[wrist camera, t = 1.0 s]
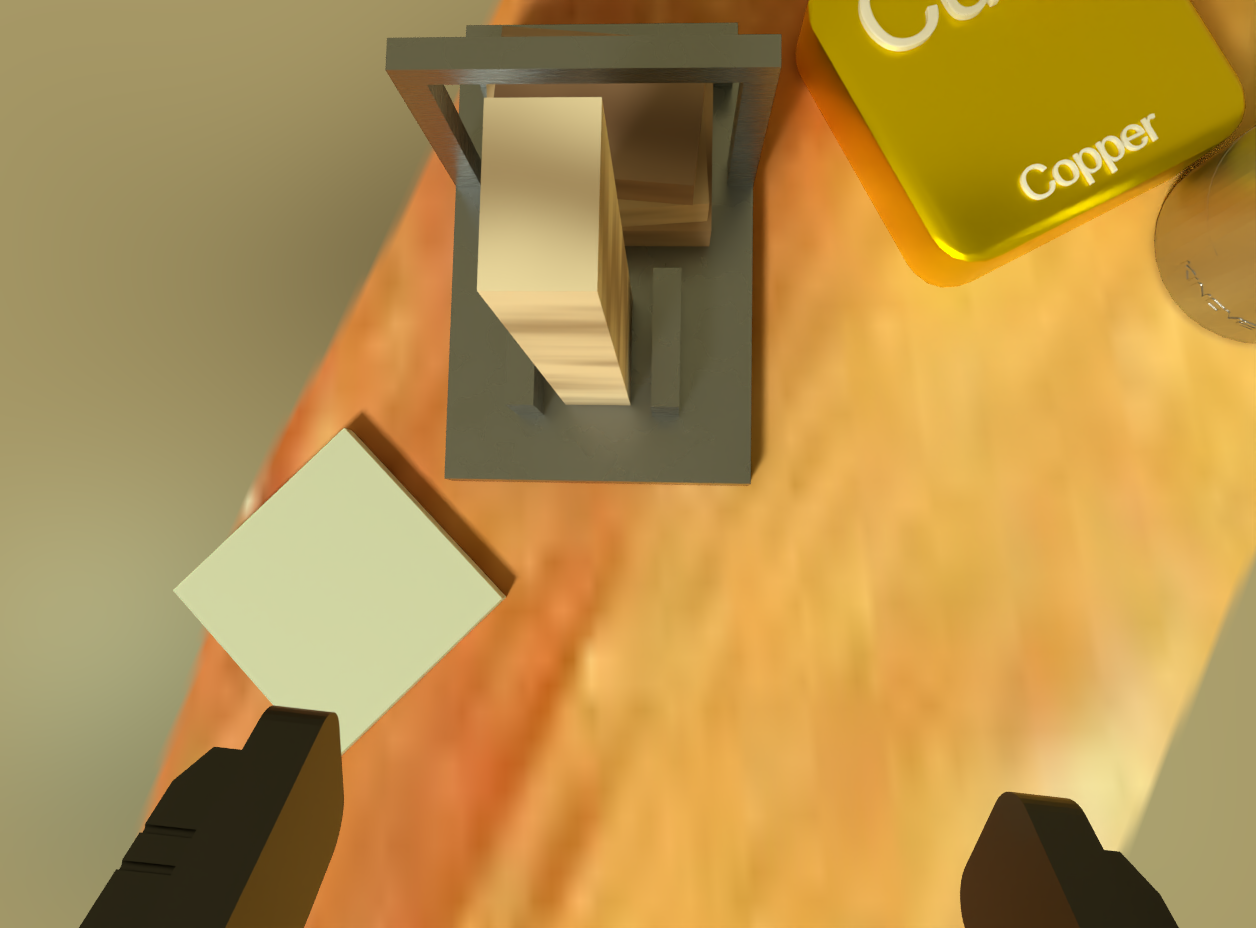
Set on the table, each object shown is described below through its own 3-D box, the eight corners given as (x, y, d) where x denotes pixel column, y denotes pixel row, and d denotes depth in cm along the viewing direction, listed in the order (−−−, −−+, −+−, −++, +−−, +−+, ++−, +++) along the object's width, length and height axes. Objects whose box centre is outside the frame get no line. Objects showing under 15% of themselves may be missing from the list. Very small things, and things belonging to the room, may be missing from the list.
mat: (352, 430, 41) (344, 427, 40) (506, 596, 40) (502, 598, 39) (185, 589, 41) (172, 590, 40) (335, 760, 39) (327, 766, 38)
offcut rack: (468, 80, 42) (393, -92, 31) (750, 78, 41) (782, -98, 30) (452, 480, 40) (367, 457, 29) (747, 485, 40) (779, 464, 28)
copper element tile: (926, 306, 40) (960, 275, 36) (778, 44, 42) (792, -19, 37) (1205, 162, 40) (1277, 112, 36) (1047, -96, 42) (1096, -177, 37)
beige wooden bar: (568, 298, 39) (484, 97, 21) (632, 298, 39) (601, 96, 21) (565, 404, 39) (476, 290, 21) (630, 405, 39) (597, 291, 21)
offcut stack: (500, 101, 40) (471, 26, 34) (710, 100, 40) (718, 23, 34) (495, 250, 40) (464, 199, 34) (709, 250, 39) (716, 199, 33)
